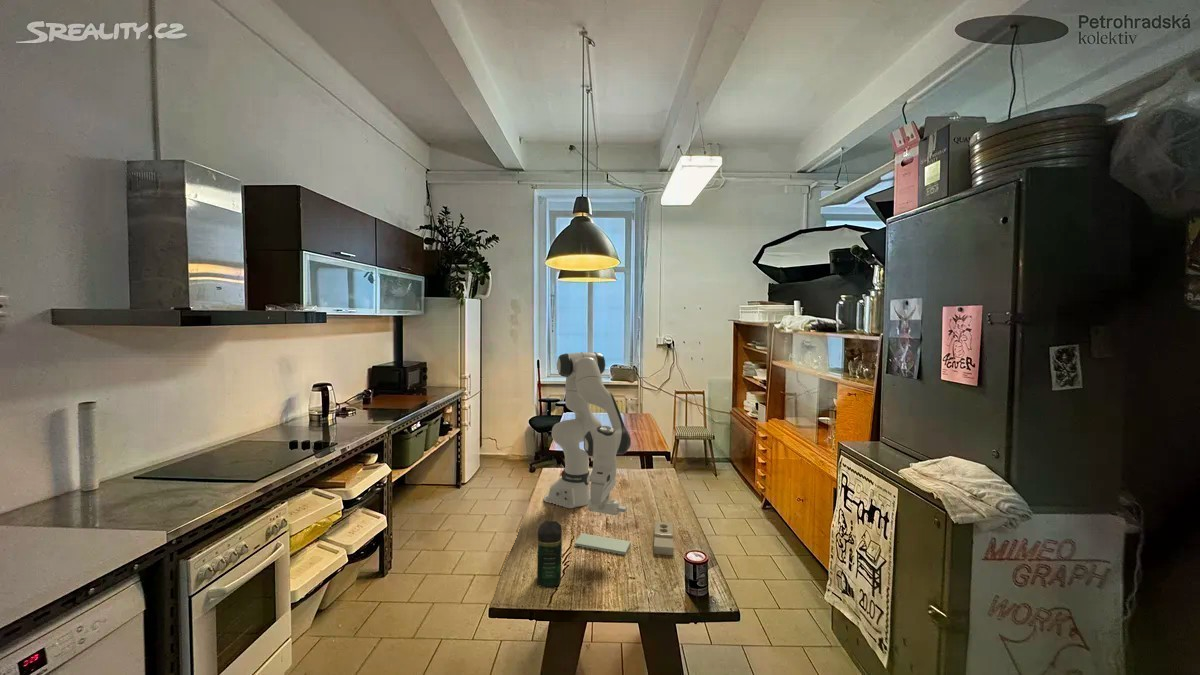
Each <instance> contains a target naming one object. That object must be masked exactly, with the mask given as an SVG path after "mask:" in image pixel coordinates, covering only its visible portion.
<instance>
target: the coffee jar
mask: <svg viewBox="0 0 1200 675" xmlns="http://www.w3.org/2000/svg"><path fill="white" fill-rule="evenodd" d="M562 532H563V530H562V525H561V524H560V523H559V522H557V521H556V520H545V521H544V522H542V523H541V524H540V525H539V527H538V530H537V569H536V570H537V572H536V577H537V578H536V582H537V585H538V586H539V587H543V588H547V587H549V588H553V587H557V586H559V584H560V583H561V579H562V557H563V556H562V555H563V553H562V551H563V540H562V538H563V536H562V535H563V534H562Z"/></svg>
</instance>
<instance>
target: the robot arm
mask: <svg viewBox="0 0 1200 675" xmlns="http://www.w3.org/2000/svg"><path fill="white" fill-rule="evenodd" d="M605 359H606V358H605V356H604V355H603V354H602V353H600V352H595V351H594V352H586V351H583V352H582V351H581V352H573V353H563V354H560V355H559V356H558V358H557V361H556V370H557V372H558V374H559V375H560V376H561V377H564V378H565V386H564V387H565V388H564V389H565V394H564V396H565V399H564V401H565V407H566V408H567V409H568V410H570V411H571V412H573V413H574V418H572V419H566V420H562V421H559V422H557V423H555V424H554V425H553V426H552V429H551V437H552V439H553V442H555V443H556V444H557V445H558V446H560V448H561V449H562V452H563V455H564V466H565V467H564V468H563V470H562V471H561V472H560V474H559V476H560V478H558V480H556V481H554V482H553V483H552V484H551V485H550V488H549V491H548V492H547V493H546V494H545V496H544V498H543V502H544V501H545V502H544V503H547V502H549V503H548V504H551V503H553V504H552V505H554V504H556V506H558V505H559V506H558V507H562V506H563V508H566V509H573V508H577V507H583V506H588V498H589V497H591V503H592V504H595V505H599V510H603V509H604V500H605V498H606V499H610V494H611V492H612V490H613V489H614V488H615V486H616V482H617V481H616V479H617V465H618V464H617V455H625V453H627V452H628V451H629V449H630V447H631V445H632V442H631V441H632V440H631V436H630V433H629V431H628V430H627V427H626V426H625V423H624V421H623V418H622V415H621V412H620V409H619V407H618V403H617V402H616V399H615V396H614V394H613V393H612V392H610V391H609V390H608V389H607V388H606V386H605V385H604V383H603V379H602V374H603V373H604V372H605V370H606V360H605ZM591 405H593V406H596V407H599V408H601V409H602V410H604V411H605V412H606V413H607V416H608V419H609V421H610V425H611V426H608V425H602V423H601V421H600V420H599V418H598V417H597V416H595V415H594V413H593V411H592V409H591ZM582 442H583V449H581V448H580V443H582ZM590 456H592V457H593V462H592V470H591V471H590V469H589V467H590V466H589V464H590V460H589V459H590Z"/></svg>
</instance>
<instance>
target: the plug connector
mask: <svg viewBox="0 0 1200 675" xmlns="http://www.w3.org/2000/svg"><path fill="white" fill-rule="evenodd" d="M587 508H588V511H590V512H594V513H599V514H604V515H605V514H606V515H611V516H617V515H619V514H620V512H621V513H627V512H626V511H627V510H628V509H627V508H628V507H627V506H625V505H621V504H620V501H619V500H617V499H612V498H609V499H606V498H605V500H604V509H603V510H599V505H595V504H592V503H591V497H589V498H588V504H587Z"/></svg>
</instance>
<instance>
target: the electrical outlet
mask: <svg viewBox="0 0 1200 675" xmlns="http://www.w3.org/2000/svg"><path fill="white" fill-rule="evenodd" d="M673 526H674V525H673V523H672V522H661V521H655V522H654V536H653V539H654V540H653V554H655V555H656V554H657V555H669V556H674V552H675V551H674V550H675V547H674V528H673Z"/></svg>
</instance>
